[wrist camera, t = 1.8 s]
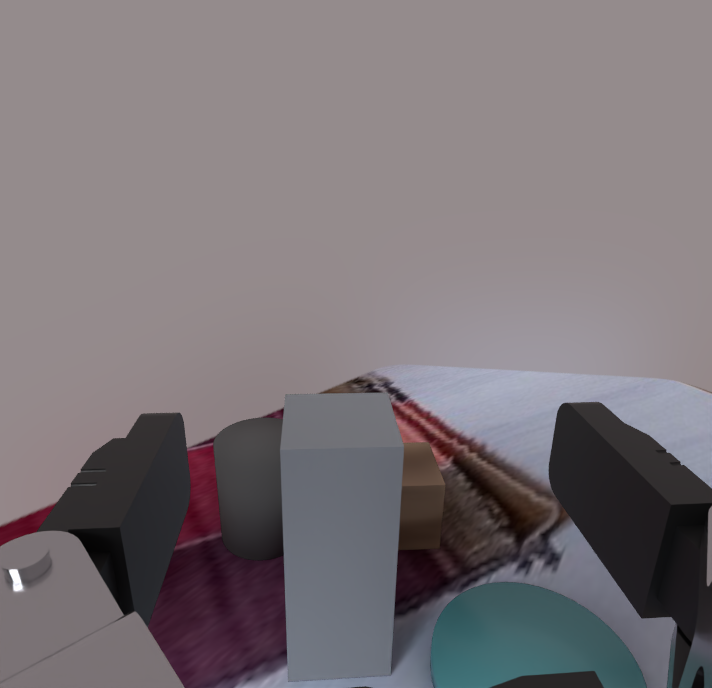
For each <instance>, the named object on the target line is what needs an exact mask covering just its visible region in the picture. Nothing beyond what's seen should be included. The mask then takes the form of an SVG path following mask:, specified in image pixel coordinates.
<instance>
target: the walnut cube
mask: <svg viewBox="0 0 712 688" xmlns="http://www.w3.org/2000/svg"><path fill="white" fill-rule="evenodd" d="M403 445H404V457H403V473H402V490H401V507H400V524H399V541H398V550H418V549H440V539H441V528H442V517H443V506H444V496H445V482H444V480H443V477H442V475H441V472H440V470H439V467H438V465H437V462H436V460H435V457H434V455H433V452H432V449H431V447H430V444H429V442H421V443H403Z"/></svg>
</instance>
